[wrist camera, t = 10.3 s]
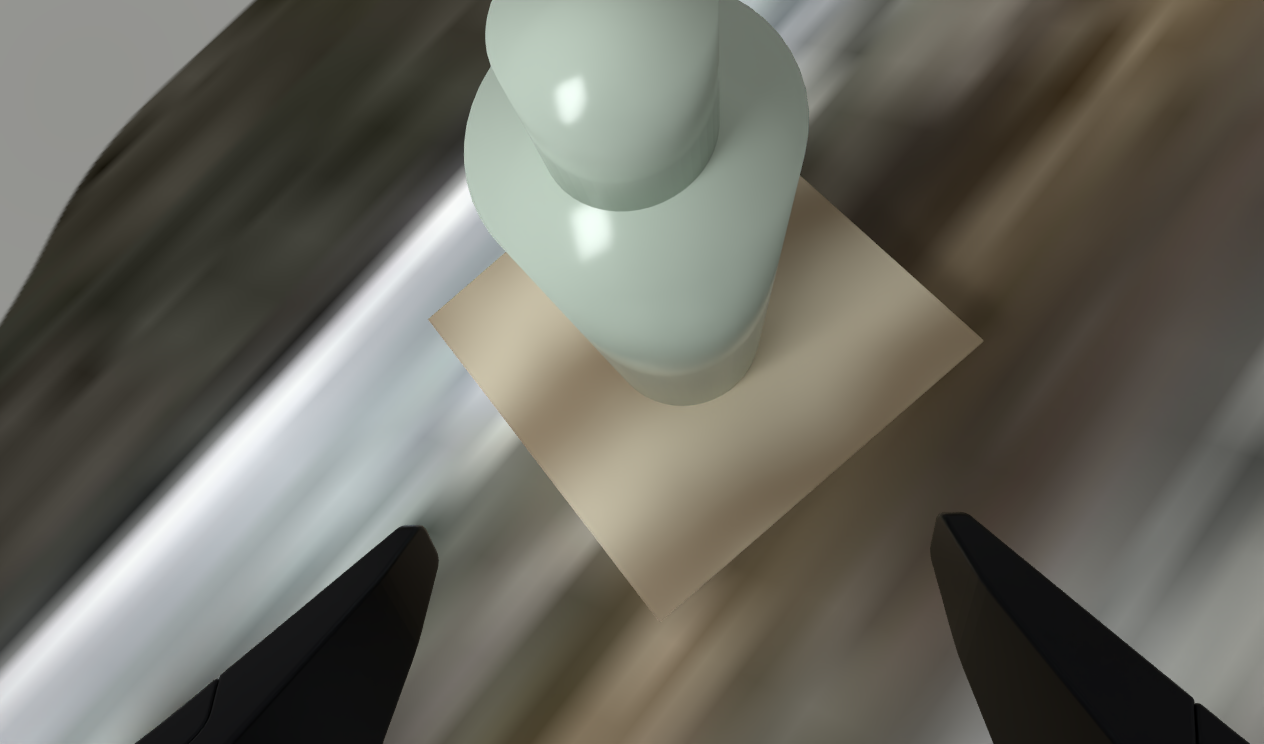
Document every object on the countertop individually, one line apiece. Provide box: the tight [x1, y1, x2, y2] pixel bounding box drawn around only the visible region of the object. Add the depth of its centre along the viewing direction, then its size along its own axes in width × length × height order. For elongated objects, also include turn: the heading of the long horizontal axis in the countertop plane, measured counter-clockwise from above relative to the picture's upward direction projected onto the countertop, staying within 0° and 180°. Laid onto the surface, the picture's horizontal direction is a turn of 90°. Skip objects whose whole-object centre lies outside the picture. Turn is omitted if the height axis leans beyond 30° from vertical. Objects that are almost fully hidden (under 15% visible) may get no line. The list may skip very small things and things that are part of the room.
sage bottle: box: [464, 0, 809, 406], centre depth 12 cm, size 5×5×13 cm
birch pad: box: [428, 176, 984, 622], centre depth 20 cm, size 13×13×2 cm
